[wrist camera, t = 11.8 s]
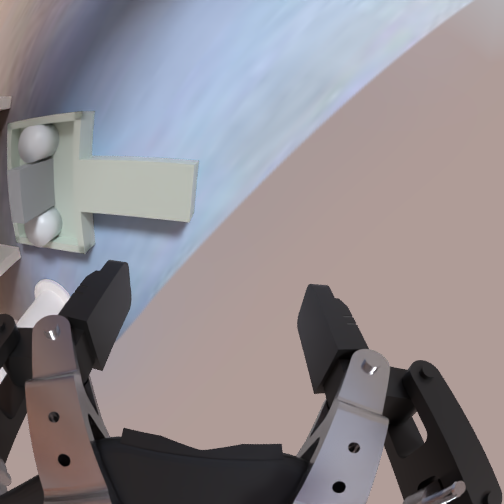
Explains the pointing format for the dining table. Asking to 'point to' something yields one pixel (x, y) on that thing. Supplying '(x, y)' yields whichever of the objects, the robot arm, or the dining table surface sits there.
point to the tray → (85, 183)
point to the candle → (42, 306)
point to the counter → (3, 255)
